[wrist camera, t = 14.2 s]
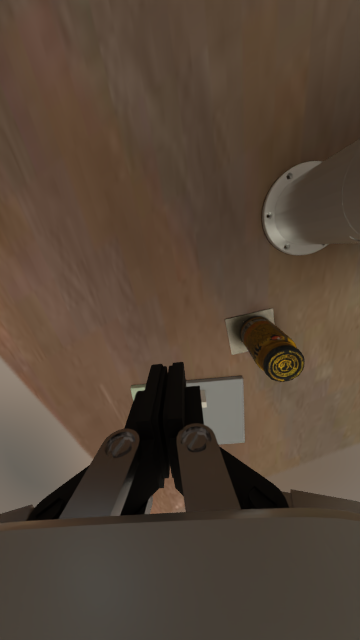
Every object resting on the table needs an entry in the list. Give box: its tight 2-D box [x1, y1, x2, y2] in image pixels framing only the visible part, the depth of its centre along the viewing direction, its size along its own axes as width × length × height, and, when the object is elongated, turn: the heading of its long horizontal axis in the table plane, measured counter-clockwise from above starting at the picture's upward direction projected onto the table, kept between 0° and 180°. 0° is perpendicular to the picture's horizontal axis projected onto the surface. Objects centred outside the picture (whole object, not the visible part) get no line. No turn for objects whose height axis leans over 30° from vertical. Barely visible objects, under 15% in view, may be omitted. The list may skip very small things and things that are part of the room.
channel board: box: [131, 376, 245, 444], centre depth 43 cm, size 22×16×4 cm
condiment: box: [225, 309, 304, 382], centre depth 34 cm, size 7×8×12 cm
